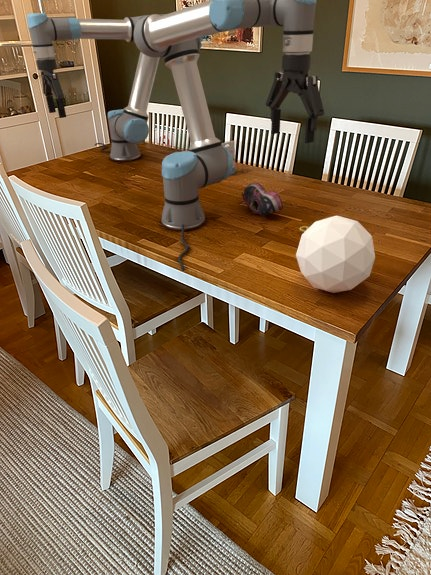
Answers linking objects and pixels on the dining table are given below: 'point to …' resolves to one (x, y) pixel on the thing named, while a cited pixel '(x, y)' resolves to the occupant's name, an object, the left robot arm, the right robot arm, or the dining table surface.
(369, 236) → the sphere
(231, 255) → the dining table surface
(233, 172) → the ink box
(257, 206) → the athletic shoe
